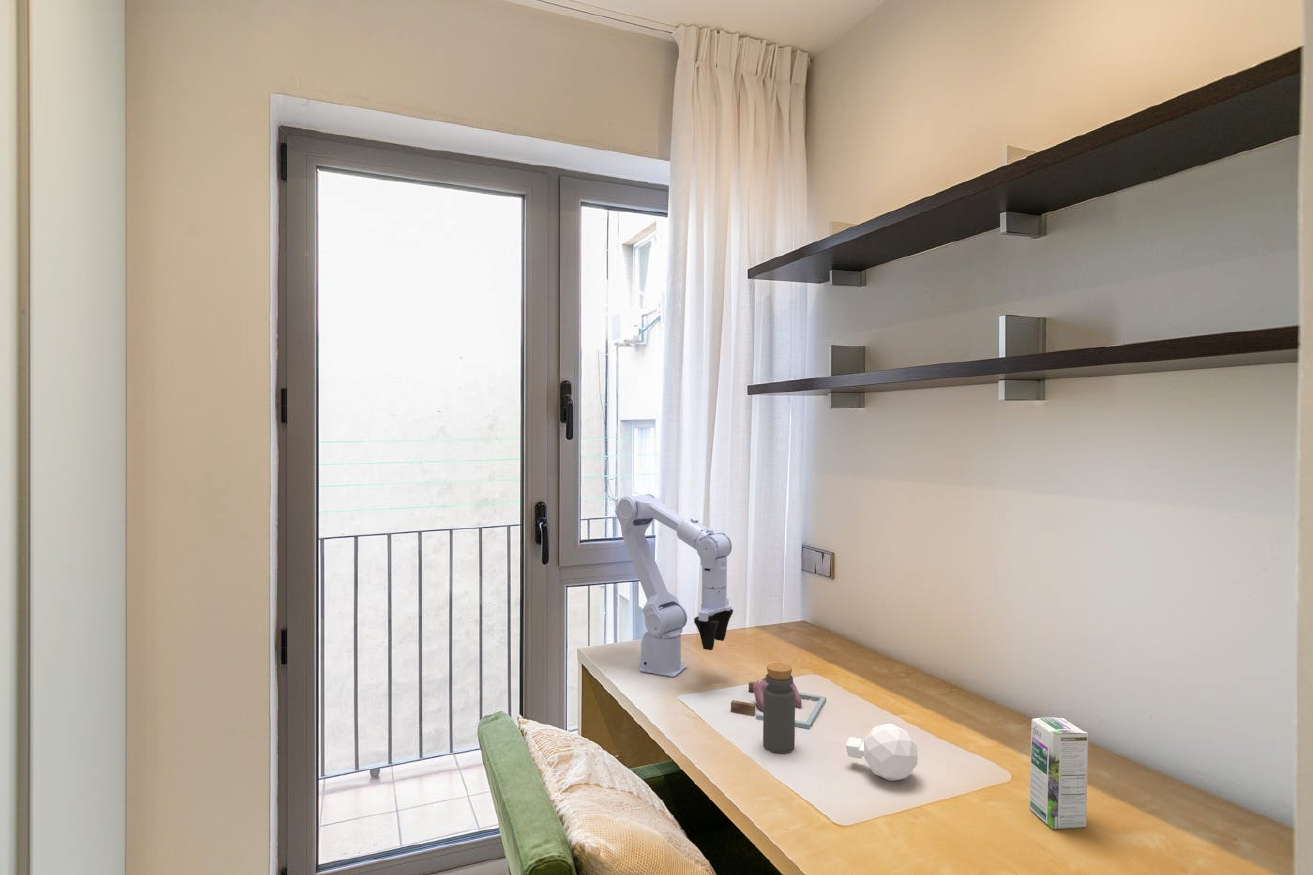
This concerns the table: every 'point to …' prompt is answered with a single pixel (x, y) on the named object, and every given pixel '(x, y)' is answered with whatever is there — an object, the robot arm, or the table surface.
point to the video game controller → (759, 691)
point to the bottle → (779, 709)
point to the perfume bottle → (886, 751)
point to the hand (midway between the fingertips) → (713, 644)
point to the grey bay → (812, 716)
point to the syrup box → (1058, 773)
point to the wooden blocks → (744, 704)
